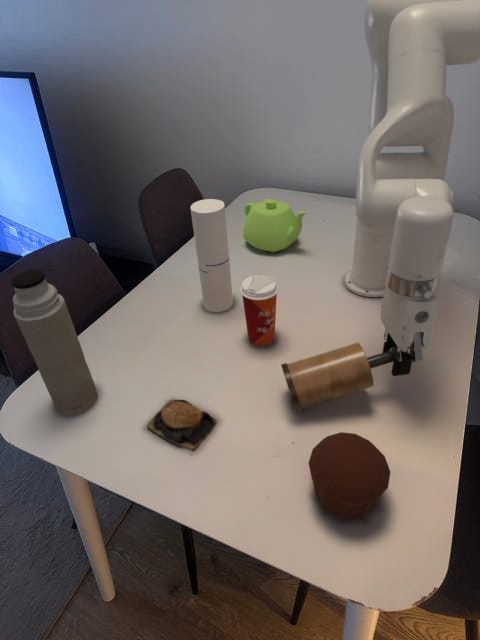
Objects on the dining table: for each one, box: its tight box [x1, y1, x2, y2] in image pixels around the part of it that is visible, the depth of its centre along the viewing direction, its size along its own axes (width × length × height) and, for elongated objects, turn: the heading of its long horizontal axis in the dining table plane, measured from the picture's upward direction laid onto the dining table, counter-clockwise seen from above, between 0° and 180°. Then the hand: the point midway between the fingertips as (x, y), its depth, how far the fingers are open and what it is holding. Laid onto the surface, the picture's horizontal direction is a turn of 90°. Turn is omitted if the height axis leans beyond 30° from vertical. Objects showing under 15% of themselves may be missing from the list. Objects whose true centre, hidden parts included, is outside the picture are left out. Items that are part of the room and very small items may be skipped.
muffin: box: [308, 432, 391, 521], centre depth 66 cm, size 12×11×10 cm
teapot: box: [242, 198, 309, 253], centre depth 129 cm, size 22×15×13 cm
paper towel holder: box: [280, 342, 410, 412], centre depth 81 cm, size 9×9×22 cm
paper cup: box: [239, 274, 279, 347], centre depth 96 cm, size 8×8×14 cm
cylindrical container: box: [190, 198, 234, 313], centre depth 104 cm, size 7×7×25 cm
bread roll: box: [146, 399, 218, 451], centre depth 81 cm, size 11×8×4 cm
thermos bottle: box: [11, 268, 99, 416], centre depth 80 cm, size 8×8×28 cm
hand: (395, 365), depth 82 cm, fingers closed on paper towel holder, 3 cm apart
